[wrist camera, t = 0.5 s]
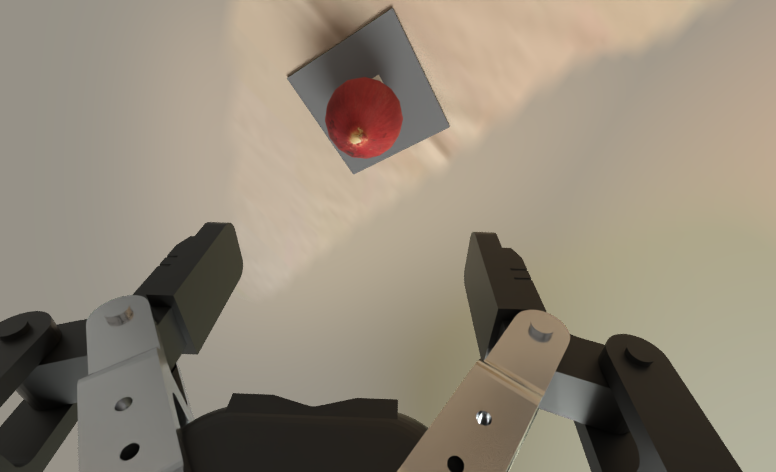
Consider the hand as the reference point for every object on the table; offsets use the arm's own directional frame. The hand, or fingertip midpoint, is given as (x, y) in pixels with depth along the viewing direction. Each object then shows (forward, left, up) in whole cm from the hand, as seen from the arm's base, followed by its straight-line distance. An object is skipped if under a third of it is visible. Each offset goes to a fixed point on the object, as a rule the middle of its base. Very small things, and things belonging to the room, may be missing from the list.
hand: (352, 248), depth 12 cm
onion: (+3, +1, -22) cm, 22 cm away
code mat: (+3, +1, -22) cm, 22 cm away
